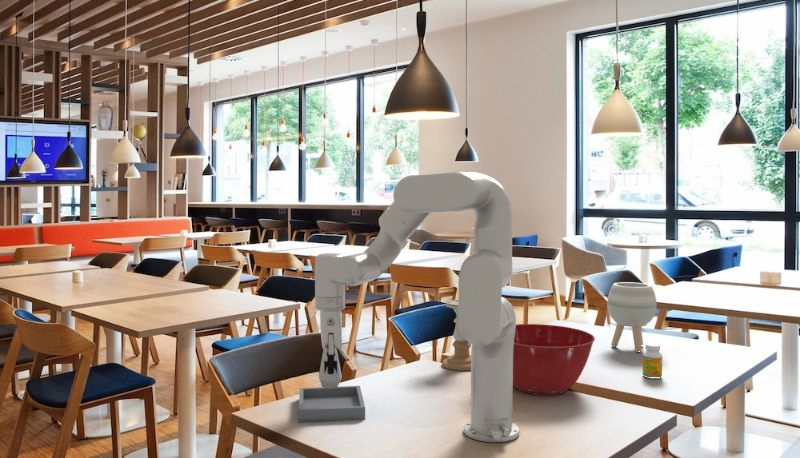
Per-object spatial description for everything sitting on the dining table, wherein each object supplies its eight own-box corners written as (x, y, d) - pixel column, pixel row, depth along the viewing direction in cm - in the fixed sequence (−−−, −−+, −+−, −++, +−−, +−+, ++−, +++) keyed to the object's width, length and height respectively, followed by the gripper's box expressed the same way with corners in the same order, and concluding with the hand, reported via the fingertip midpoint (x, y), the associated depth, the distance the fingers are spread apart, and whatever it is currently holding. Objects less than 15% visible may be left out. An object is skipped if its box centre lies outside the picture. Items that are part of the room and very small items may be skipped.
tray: (365, 419, 166) (365, 407, 165) (298, 422, 164) (298, 410, 163) (359, 396, 183) (359, 385, 183) (299, 399, 181) (299, 388, 181)
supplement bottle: (641, 378, 200) (641, 345, 200) (643, 373, 205) (644, 341, 205) (660, 380, 198) (661, 347, 197) (663, 376, 203) (663, 343, 202)
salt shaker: (337, 390, 170) (337, 338, 169) (315, 388, 171) (315, 337, 170) (344, 383, 175) (344, 333, 175) (323, 382, 177) (322, 332, 176)
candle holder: (449, 372, 207) (450, 306, 206) (436, 362, 219) (437, 300, 217) (487, 369, 210) (487, 304, 209) (472, 359, 222) (473, 298, 221)
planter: (596, 346, 240) (597, 283, 239) (631, 341, 247) (632, 280, 246) (629, 356, 226) (631, 289, 224) (666, 351, 233) (667, 286, 231)
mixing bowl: (593, 377, 201) (594, 326, 200) (594, 408, 173) (595, 348, 172) (497, 371, 208) (498, 321, 207) (483, 399, 181) (483, 341, 180)
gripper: (346, 308, 164) (347, 383, 165) (343, 297, 180) (343, 365, 182) (315, 308, 163) (315, 384, 164) (315, 297, 179) (315, 366, 181)
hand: (330, 373), depth 173 cm, fingers closed on salt shaker, 3 cm apart
